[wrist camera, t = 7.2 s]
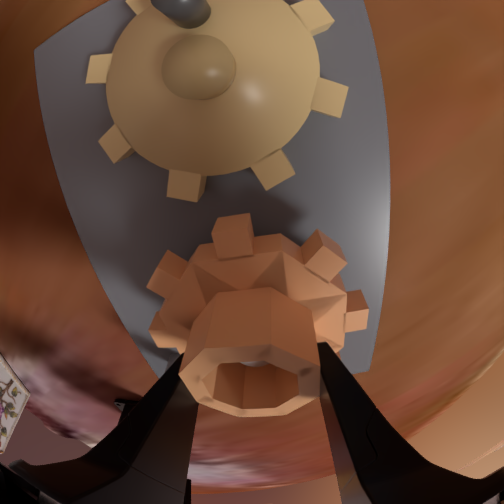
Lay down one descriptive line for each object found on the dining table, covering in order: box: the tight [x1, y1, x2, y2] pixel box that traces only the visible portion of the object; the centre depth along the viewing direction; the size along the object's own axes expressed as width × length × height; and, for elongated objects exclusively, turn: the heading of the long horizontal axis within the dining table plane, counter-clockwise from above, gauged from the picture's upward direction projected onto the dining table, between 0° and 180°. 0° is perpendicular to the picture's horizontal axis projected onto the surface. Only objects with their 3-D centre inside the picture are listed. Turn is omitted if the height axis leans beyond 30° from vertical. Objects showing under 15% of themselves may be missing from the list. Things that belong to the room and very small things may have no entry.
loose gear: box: [146, 213, 369, 417], centre depth 10 cm, size 9×9×4 cm
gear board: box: [34, 0, 390, 378], centre depth 10 cm, size 22×14×4 cm, turn 10°
